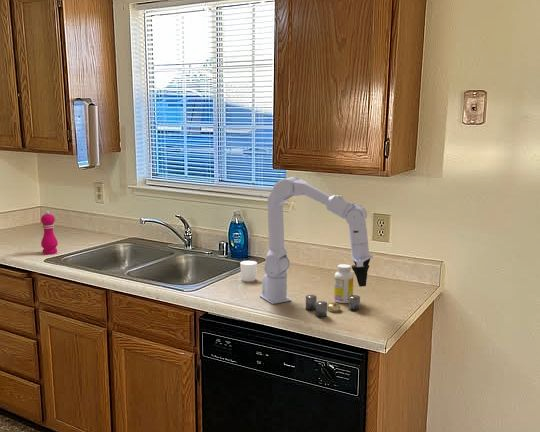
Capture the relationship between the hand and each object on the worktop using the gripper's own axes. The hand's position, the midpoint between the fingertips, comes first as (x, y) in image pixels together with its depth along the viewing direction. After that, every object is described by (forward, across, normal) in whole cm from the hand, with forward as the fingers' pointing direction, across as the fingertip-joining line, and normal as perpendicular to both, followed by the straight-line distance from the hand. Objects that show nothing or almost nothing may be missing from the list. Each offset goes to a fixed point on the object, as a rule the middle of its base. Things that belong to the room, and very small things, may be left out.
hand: (363, 283), depth 182 cm
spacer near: (+8, 0, +18) cm, 20 cm away
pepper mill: (-10, +45, +146) cm, 153 cm away
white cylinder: (+3, +28, +47) cm, 54 cm away
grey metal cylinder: (+10, +3, +4) cm, 11 cm away
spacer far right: (+9, -6, +14) cm, 18 cm away
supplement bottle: (+9, +11, +8) cm, 16 cm away
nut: (+9, +1, +11) cm, 14 cm away
